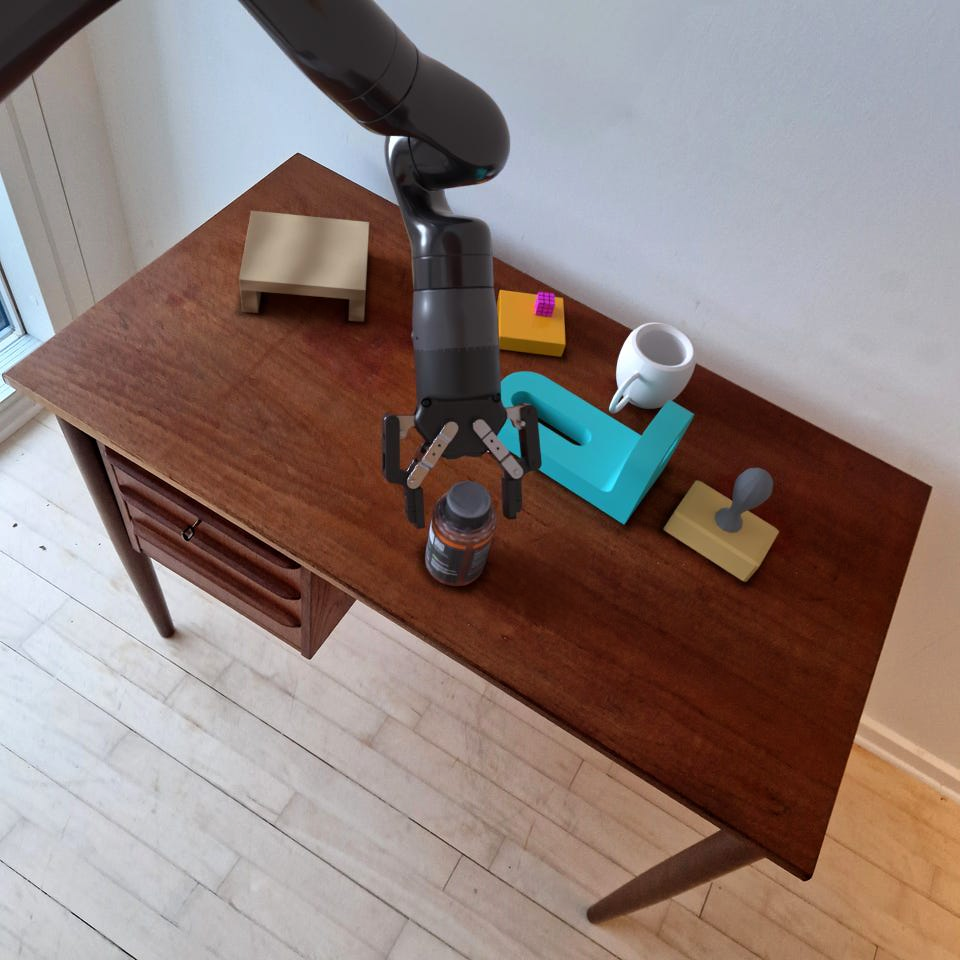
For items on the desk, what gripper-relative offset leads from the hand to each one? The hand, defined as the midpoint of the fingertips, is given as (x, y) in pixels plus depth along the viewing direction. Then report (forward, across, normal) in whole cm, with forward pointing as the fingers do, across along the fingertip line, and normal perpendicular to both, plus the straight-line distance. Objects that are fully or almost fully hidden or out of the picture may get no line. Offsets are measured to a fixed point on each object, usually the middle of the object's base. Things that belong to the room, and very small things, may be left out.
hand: (465, 522), depth 77 cm
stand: (-23, -10, +34) cm, 42 cm away
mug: (-8, +26, +19) cm, 33 cm away
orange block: (-16, +16, +27) cm, 35 cm away
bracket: (-3, +15, +14) cm, 21 cm away
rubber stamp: (+6, +28, +5) cm, 29 cm away
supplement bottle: (+5, 0, +6) cm, 8 cm away
